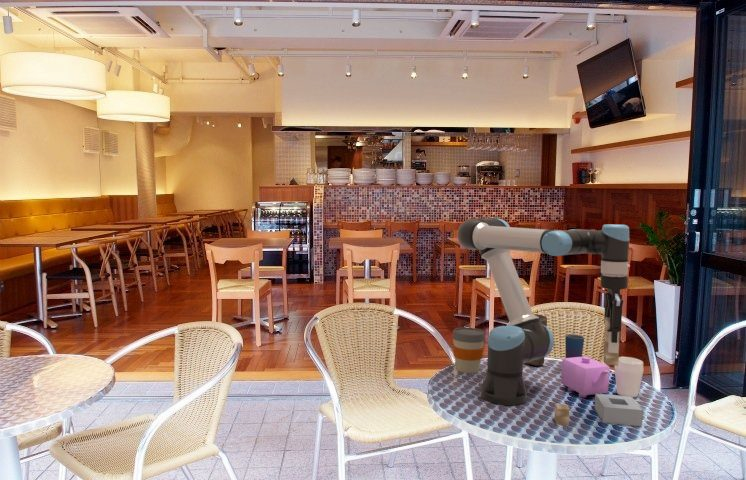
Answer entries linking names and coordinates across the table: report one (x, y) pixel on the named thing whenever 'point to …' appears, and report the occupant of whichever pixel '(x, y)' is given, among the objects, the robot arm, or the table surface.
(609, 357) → the long peg
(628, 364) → the cup
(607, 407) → the socket block
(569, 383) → the teapot
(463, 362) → the reusable coffee cup
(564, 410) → the short peg
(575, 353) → the cup
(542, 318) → the candle
